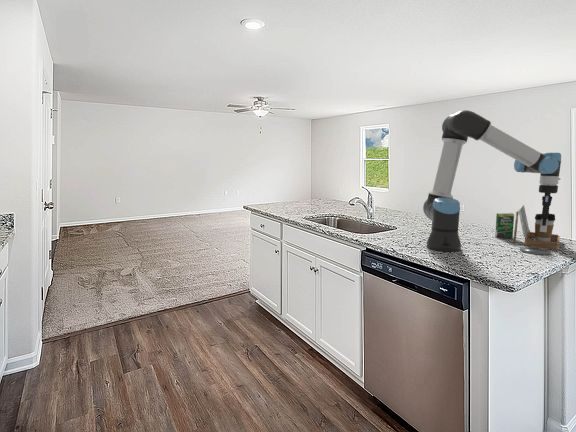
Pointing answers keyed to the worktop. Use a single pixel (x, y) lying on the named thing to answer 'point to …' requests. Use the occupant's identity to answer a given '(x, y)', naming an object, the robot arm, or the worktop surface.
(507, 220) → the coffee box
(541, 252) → the disc
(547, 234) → the coffee cup
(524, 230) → the frame
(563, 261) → the worktop surface
